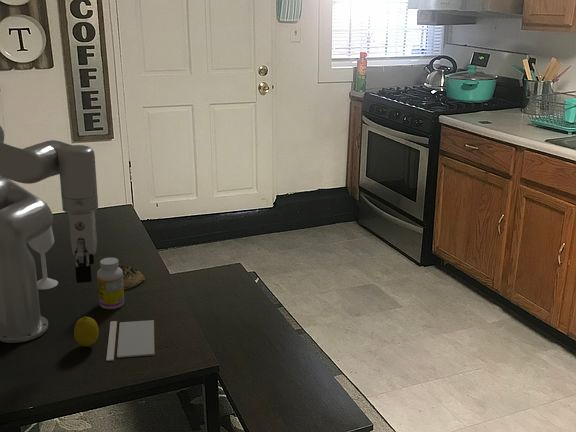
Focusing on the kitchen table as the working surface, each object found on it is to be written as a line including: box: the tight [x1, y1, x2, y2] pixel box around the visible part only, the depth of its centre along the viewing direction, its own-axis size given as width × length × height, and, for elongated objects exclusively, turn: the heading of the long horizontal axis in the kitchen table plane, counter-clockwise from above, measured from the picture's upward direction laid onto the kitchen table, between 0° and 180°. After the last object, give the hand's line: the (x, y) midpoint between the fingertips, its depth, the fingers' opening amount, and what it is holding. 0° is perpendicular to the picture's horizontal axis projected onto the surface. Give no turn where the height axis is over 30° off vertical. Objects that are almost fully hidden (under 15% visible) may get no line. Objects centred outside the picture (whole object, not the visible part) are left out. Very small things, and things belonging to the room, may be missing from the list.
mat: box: [116, 319, 156, 359], centre depth 152 cm, size 8×16×1 cm, turn 12°
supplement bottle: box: [96, 257, 125, 310], centre depth 166 cm, size 7×7×13 cm
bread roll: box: [118, 265, 146, 290], centre depth 181 cm, size 11×11×5 cm
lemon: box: [73, 316, 100, 348], centre depth 146 cm, size 6×6×8 cm
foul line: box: [105, 320, 118, 362], centre depth 151 cm, size 2×18×1 cm, turn 12°
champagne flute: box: [28, 202, 59, 290], centre depth 174 cm, size 7×7×24 cm
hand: (85, 272), depth 143 cm, fingers open, 9 cm apart
